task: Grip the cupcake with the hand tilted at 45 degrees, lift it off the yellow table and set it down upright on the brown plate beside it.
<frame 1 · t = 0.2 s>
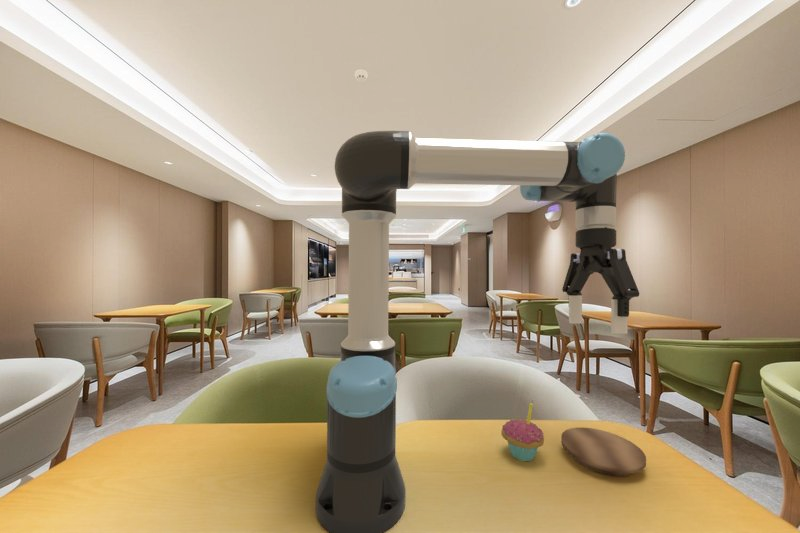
hand: (595, 328, 68), 28 cm above the table, tool pointing down, fingers open, 13 cm apart
cupcake: (522, 456, 68), on the table
brown plate: (601, 459, 67), on the table
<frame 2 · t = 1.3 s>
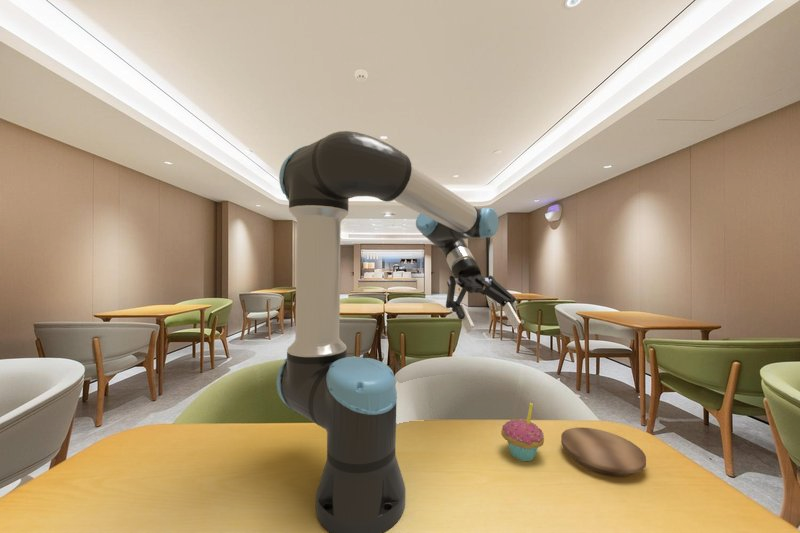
hand: (494, 327, 78), 26 cm above the table, tool tilted 45°, fingers open, 13 cm apart
nothing on the table moved.
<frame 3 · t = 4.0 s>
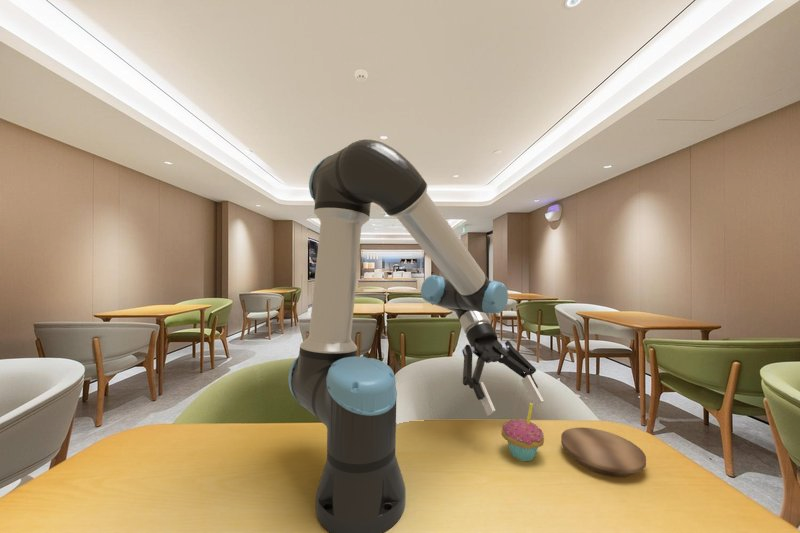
hand: (516, 408, 72), 8 cm above the table, tool tilted 45°, fingers open, 13 cm apart
nothing on the table moved.
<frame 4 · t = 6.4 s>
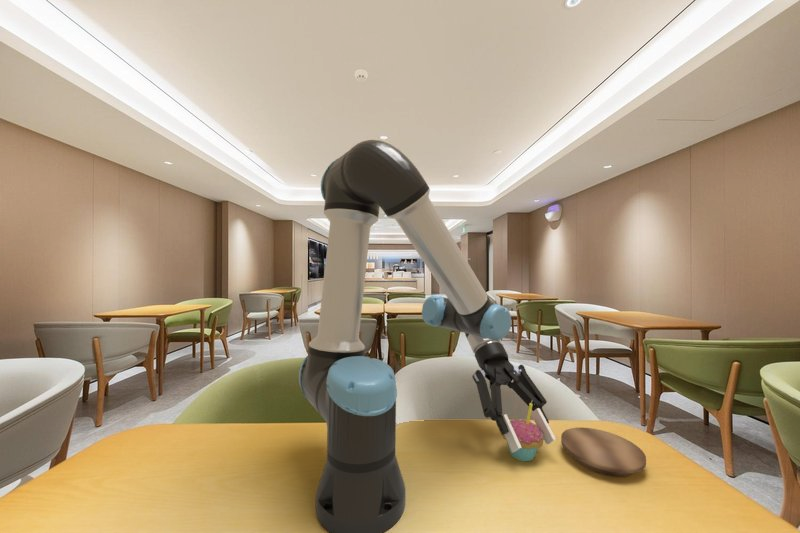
hand: (534, 445, 65), 4 cm above the table, tool tilted 45°, fingers closed on cupcake, 8 cm apart
cupcake: (521, 456, 68), on the table, touching gripper
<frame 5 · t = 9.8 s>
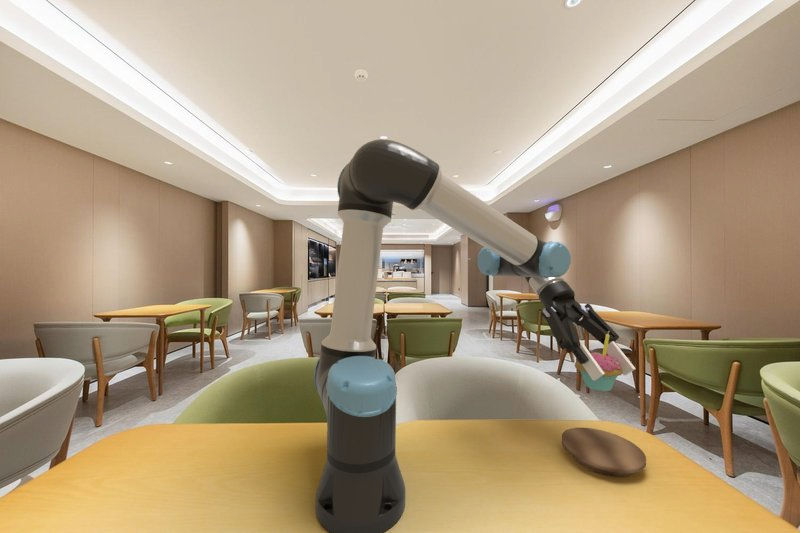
hand: (614, 374, 64), 19 cm above the table, tool tilted 45°, fingers closed on cupcake, 8 cm apart
cupcake: (598, 388, 67), point 15 cm above the table, touching gripper
when the fingers open (8 cm above the table, at t = 13.2 s): cupcake drops 1 cm, resting on brown plate.
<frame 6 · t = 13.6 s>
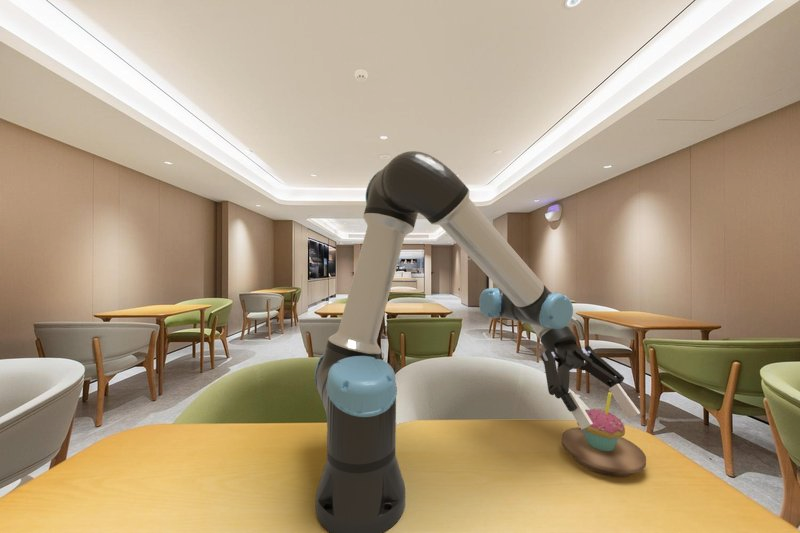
hand: (612, 421, 65), 9 cm above the table, tool tilted 45°, fingers open, 13 cm apart
cupcake: (600, 446, 67), point 3 cm above the table, touching brown plate
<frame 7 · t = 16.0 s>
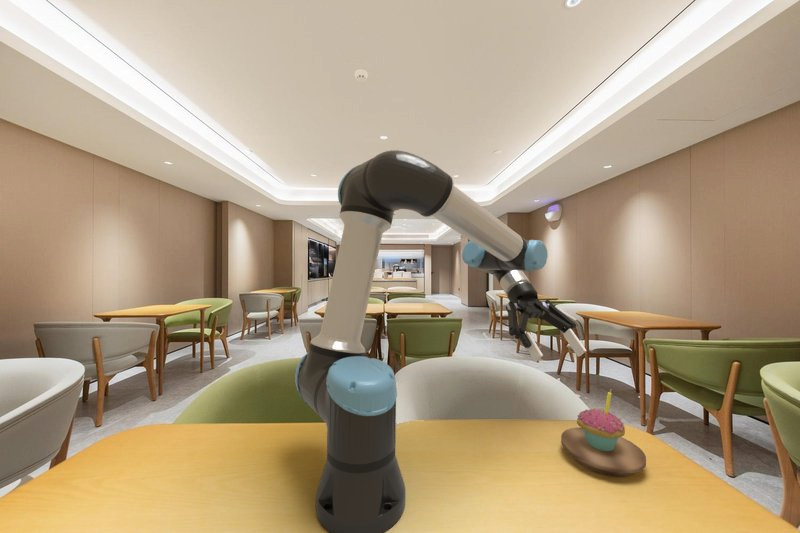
hand: (561, 356, 77), 19 cm above the table, tool tilted 45°, fingers open, 13 cm apart
nothing on the table moved.
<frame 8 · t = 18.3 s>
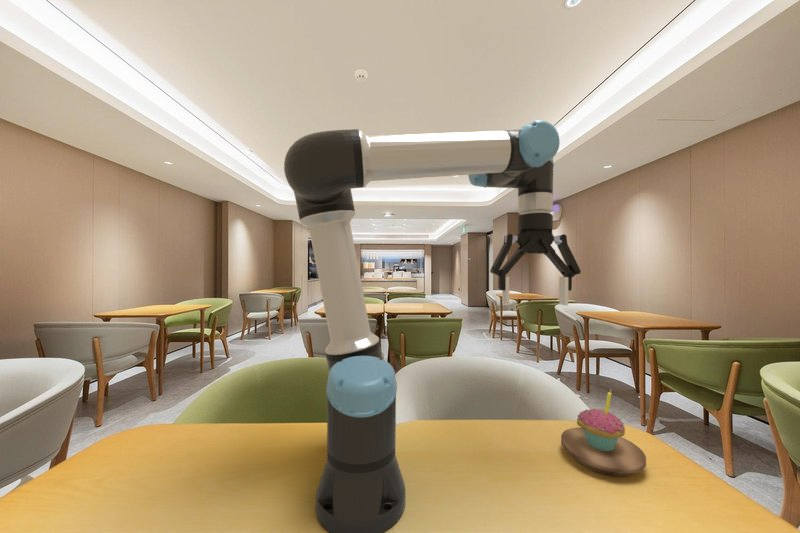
hand: (534, 304, 74), 32 cm above the table, tool pointing down, fingers open, 13 cm apart
nothing on the table moved.
at the end: cupcake inside the target area on the brown plate (0.1 cm from its centre), point 2.8 cm above the brown plate's base; cupcake tilted 0°; the gripper is holding nothing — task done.
